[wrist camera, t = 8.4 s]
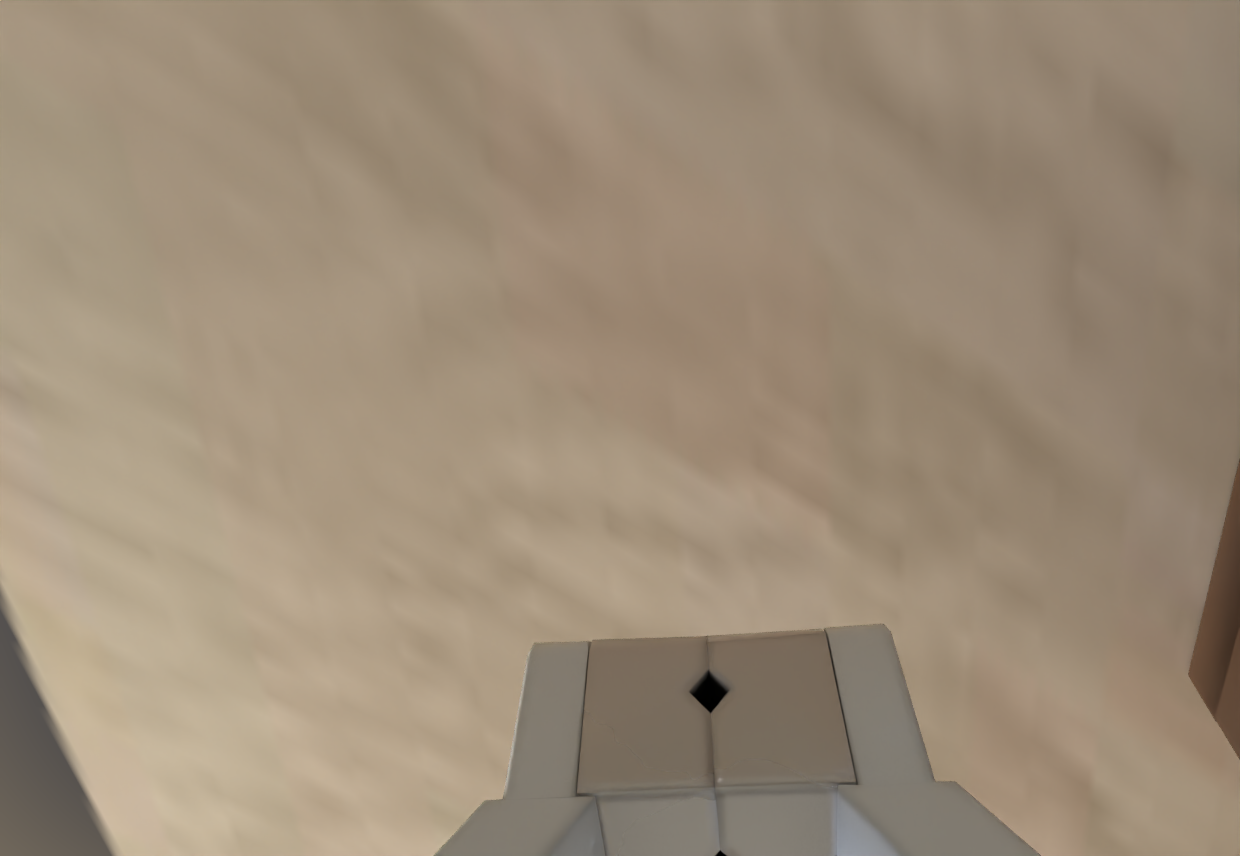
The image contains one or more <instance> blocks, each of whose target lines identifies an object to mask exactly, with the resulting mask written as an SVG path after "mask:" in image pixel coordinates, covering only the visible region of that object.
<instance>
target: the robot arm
mask: <svg viewBox="0 0 1240 856" xmlns="http://www.w3.org/2000/svg"><path fill="white" fill-rule="evenodd" d="M434 856H1041V855H1040V854H1039V853H1037V852H1036V851H1035V850H1034V849H1033V848H1032V847H1030V846H1029V845H1028V844H1027V843H1026V842H1025V841H1024V840H1022V839H1021V838H1020V837H1019V836H1018V835H1017V834H1015V833H1014V832H1013V831H1012V830H1011V829H1010V828H1009V827H1007V826H1006V825H1005V824H1004V823H1003V822H1002V821H1000V820H999V819H998V818H997V817H996V816H995V815H994V814H992V813H991V812H990V811H989V810H988V809H987V808H985V807H984V806H983V805H982V804H981V803H980V802H979V801H977V800H976V799H975V798H974V797H973V796H972V795H970V794H969V793H968V792H967V791H966V790H965V789H963V788H962V787H961V786H960V785H959V784H958V783H957V782H955V781H950V782H935V779H934V776H933V772H932V769H931V765H930V762H929V759H928V755H927V752H926V749H925V745H924V742H923V738H922V735H921V732H920V728H919V725H918V722H917V718H916V715H915V711H914V708H913V705H912V701H911V698H910V694H909V691H908V688H907V684H906V681H905V678H904V674H903V671H902V667H901V664H900V661H899V657H898V654H897V651H896V647H895V644H894V640H893V637H892V634H891V631H890V630H889V629H888V628H887V627H886V626H885V625H884V624H872V625H858V626H844V627H830V628H825V629H824V631H823V630H822V629H810V630H794V631H778V632H762V633H746V634H730V635H714V636H701V637H669V638H636V639H604V640H592V642H589V641H583V642H544V643H534V644H533V646H532V648H531V650H530V652H529V654H528V655H527V659H526V665H525V671H524V677H523V683H522V689H521V695H520V701H519V707H518V712H517V718H516V724H515V730H514V736H513V742H512V748H511V754H510V760H509V766H508V771H507V777H506V783H505V789H504V795H503V799H500V800H485V801H484V802H483V803H482V804H481V805H480V806H479V807H478V808H477V809H476V810H475V811H474V813H473V814H472V815H471V816H470V817H469V818H468V819H467V820H466V821H465V822H464V823H463V824H462V826H461V827H460V828H459V829H458V830H457V831H456V832H455V833H454V834H453V835H452V836H451V837H450V839H449V840H448V841H447V842H446V843H445V844H444V845H443V846H442V847H441V848H440V849H439V850H438V852H437V853H436V854H435V855H434Z"/></svg>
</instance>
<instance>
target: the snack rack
mask: <svg viewBox="0 0 1240 856" xmlns="http://www.w3.org/2000/svg"><path fill="white" fill-rule="evenodd" d="M1188 675H1189V677H1190V679H1191V681H1192V682H1193V684H1194V686H1195V687H1196V689H1197V691H1198V693H1199V694H1200V696H1201V698H1202V699H1203V701H1204V703H1205V704H1206V706H1207V708H1208V709H1209V711H1210V713H1211V714H1212V716H1213V718H1214V719H1215V721H1216V722H1217V723H1218V724H1219V726H1220V728H1221V729H1222V731H1223V733H1224V734H1225V736H1226V738H1227V739H1228V741H1229V743H1230V744H1231V746H1232V748H1233V749H1234V751H1235V753H1236V754H1237V756H1238V758H1239V759H1240V460H1239V465H1238V469H1237V473H1236V477H1235V481H1234V485H1233V490H1232V494H1231V498H1230V502H1229V506H1228V510H1227V515H1226V519H1225V523H1224V527H1223V531H1222V535H1221V540H1220V544H1219V548H1218V552H1217V556H1216V560H1215V565H1214V569H1213V573H1212V577H1211V581H1210V585H1209V590H1208V594H1207V598H1206V602H1205V606H1204V610H1203V615H1202V619H1201V623H1200V627H1199V631H1198V635H1197V640H1196V644H1195V648H1194V652H1193V656H1192V660H1191V665H1190V669H1189V673H1188Z"/></svg>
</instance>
